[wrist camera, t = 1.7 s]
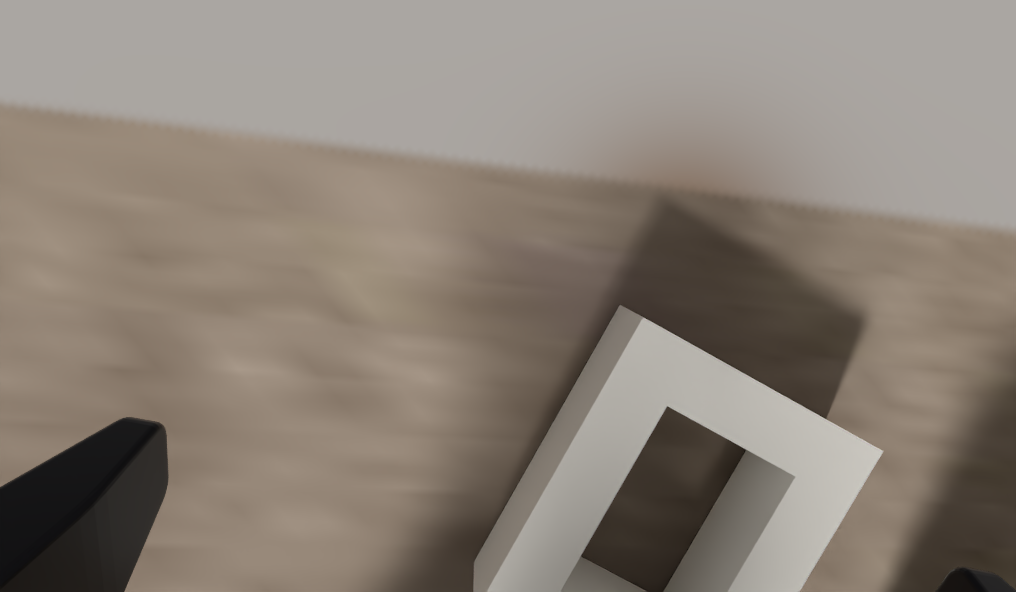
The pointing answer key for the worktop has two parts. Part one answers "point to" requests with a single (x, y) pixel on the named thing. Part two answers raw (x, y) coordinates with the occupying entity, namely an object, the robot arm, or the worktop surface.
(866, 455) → the white rectangular frame
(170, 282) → the worktop surface
